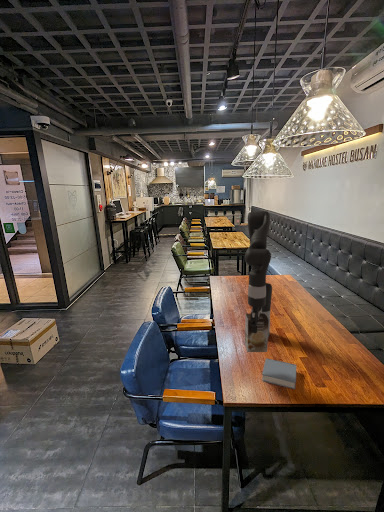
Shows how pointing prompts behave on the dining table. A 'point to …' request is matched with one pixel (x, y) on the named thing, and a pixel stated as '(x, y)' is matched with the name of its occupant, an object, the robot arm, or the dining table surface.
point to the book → (279, 373)
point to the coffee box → (256, 334)
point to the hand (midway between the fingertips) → (256, 327)
